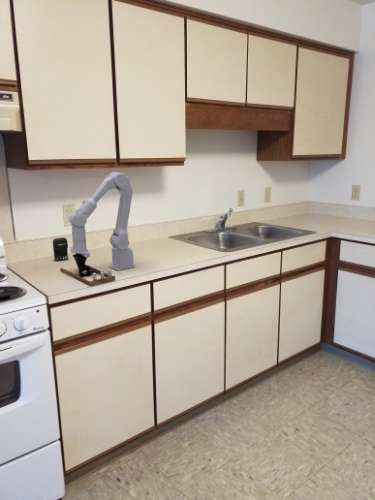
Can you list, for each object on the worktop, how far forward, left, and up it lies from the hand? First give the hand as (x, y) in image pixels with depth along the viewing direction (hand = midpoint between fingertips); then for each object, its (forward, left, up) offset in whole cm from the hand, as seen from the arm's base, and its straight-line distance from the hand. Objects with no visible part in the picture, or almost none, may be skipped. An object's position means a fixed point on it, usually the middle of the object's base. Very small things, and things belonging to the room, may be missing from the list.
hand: (81, 269), depth 177 cm
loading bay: (0, +5, -2) cm, 5 cm away
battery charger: (-3, -27, -2) cm, 27 cm away
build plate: (0, +3, -2) cm, 4 cm away
